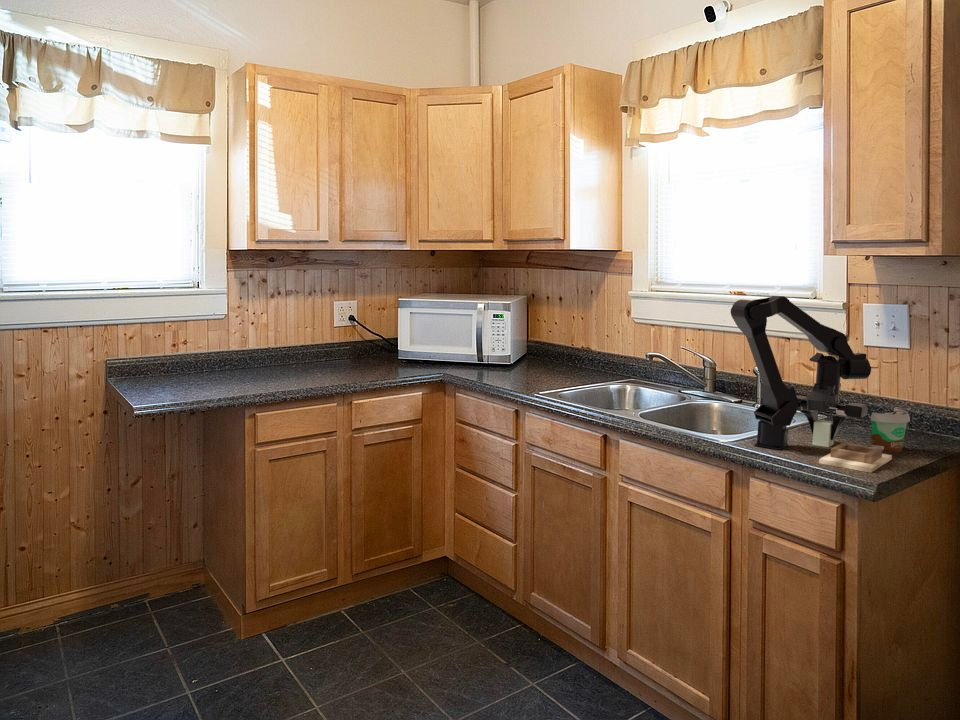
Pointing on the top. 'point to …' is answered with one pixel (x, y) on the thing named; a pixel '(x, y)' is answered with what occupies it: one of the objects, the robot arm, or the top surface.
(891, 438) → the food container
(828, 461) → the post base
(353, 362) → the top surface
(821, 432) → the pale green block
